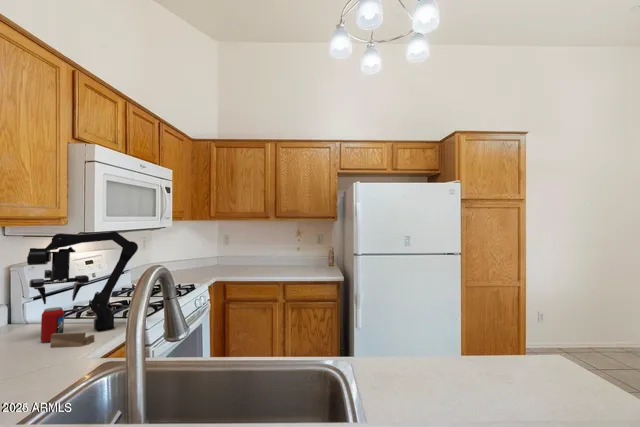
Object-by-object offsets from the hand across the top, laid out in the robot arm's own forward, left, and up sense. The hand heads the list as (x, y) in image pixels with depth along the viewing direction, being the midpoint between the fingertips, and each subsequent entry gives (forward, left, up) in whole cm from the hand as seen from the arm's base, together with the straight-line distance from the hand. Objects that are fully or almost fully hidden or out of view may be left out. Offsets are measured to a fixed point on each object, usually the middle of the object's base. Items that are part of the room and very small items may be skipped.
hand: (59, 302), depth 136 cm
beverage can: (+3, +8, -13) cm, 16 cm away
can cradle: (-1, +20, -13) cm, 24 cm away
